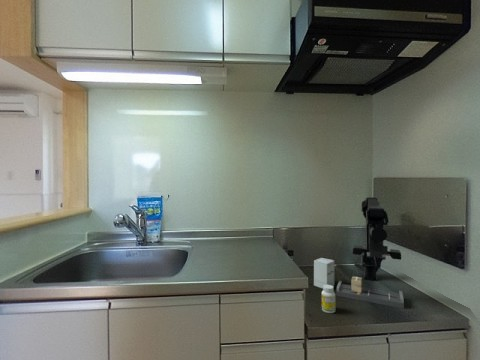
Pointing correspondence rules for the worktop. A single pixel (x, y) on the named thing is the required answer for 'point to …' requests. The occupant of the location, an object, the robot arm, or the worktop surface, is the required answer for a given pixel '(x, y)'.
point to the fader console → (371, 295)
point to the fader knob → (356, 284)
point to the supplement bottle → (328, 299)
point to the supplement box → (323, 272)
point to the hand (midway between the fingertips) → (376, 271)
